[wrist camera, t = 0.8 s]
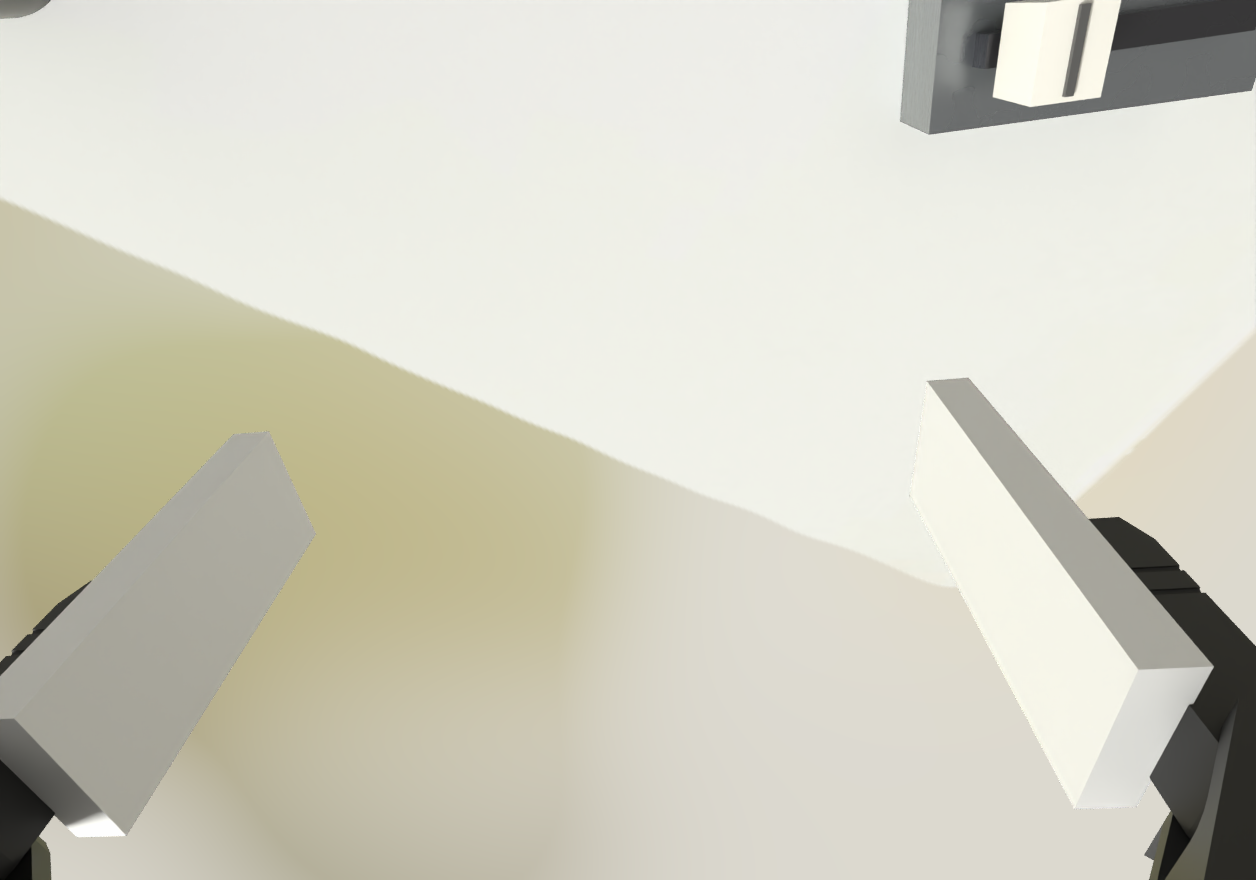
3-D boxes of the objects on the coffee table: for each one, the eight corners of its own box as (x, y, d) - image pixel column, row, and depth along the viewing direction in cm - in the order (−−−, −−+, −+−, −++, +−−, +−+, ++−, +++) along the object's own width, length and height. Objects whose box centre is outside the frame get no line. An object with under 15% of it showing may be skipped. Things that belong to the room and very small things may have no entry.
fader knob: (1005, 2, 25) (1050, 2, 23) (1072, -8, 25) (1126, -10, 22) (992, 97, 27) (1032, 107, 24) (1055, 88, 27) (1103, 97, 24)
